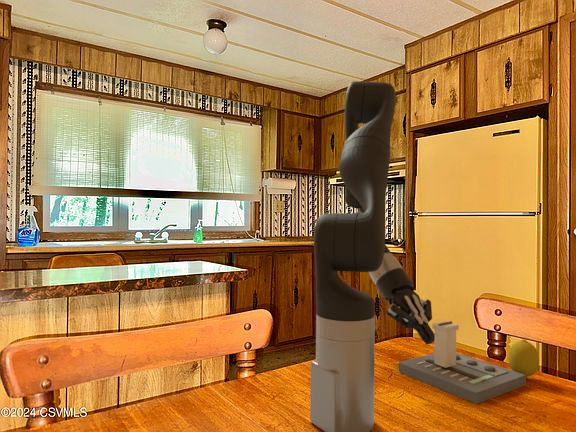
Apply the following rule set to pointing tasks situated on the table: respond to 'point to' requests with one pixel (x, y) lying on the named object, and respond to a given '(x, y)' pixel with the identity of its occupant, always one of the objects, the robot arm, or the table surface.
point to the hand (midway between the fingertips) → (431, 341)
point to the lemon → (523, 358)
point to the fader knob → (445, 343)
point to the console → (464, 377)
